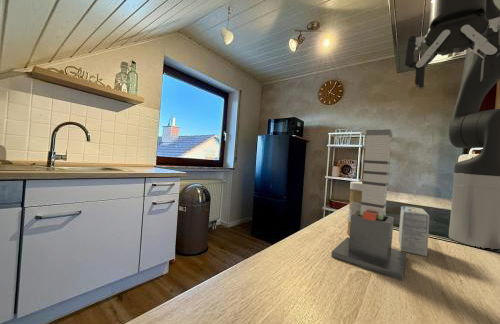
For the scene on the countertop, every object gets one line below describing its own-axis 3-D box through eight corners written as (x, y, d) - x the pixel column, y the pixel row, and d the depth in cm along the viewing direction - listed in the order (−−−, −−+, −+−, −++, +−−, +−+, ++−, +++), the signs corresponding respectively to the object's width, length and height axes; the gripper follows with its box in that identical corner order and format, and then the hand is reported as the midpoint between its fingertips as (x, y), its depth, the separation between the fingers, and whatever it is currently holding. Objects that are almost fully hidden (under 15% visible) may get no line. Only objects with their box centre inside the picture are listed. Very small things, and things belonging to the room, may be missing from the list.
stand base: (347, 241, 49) (350, 201, 49) (406, 257, 42) (410, 211, 42) (331, 256, 40) (334, 208, 40) (402, 280, 33) (406, 222, 33)
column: (363, 215, 44) (370, 132, 43) (385, 219, 41) (392, 132, 41) (359, 218, 41) (366, 130, 40) (382, 223, 38) (390, 129, 38)
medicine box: (427, 257, 43) (430, 215, 43) (400, 251, 45) (403, 210, 45) (421, 245, 50) (424, 208, 49) (397, 240, 52) (400, 205, 52)
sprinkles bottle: (351, 230, 57) (355, 180, 57) (369, 236, 53) (374, 183, 53) (343, 233, 54) (347, 181, 54) (361, 240, 50) (366, 183, 50)
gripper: (510, -9, 38) (502, 84, 38) (410, 21, 47) (404, 95, 47) (526, -40, 32) (517, 69, 32) (408, 0, 41) (402, 85, 41)
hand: (450, 84), depth 40 cm, fingers open, 8 cm apart
